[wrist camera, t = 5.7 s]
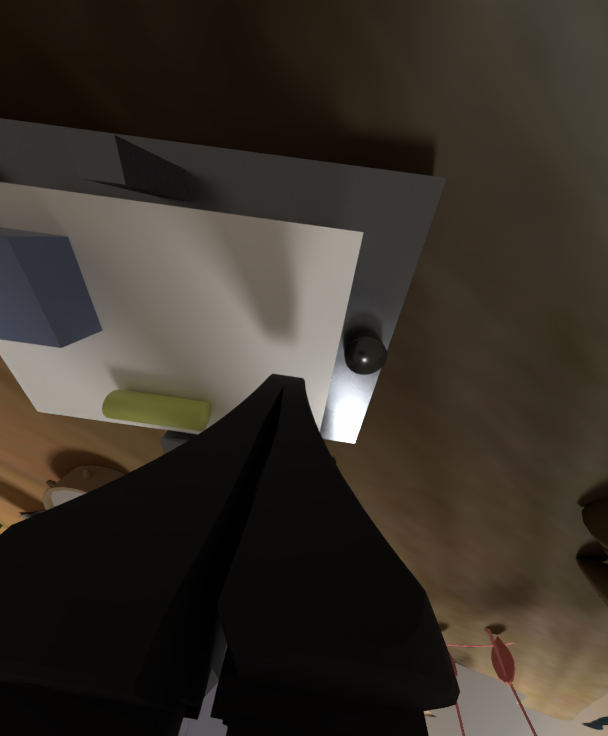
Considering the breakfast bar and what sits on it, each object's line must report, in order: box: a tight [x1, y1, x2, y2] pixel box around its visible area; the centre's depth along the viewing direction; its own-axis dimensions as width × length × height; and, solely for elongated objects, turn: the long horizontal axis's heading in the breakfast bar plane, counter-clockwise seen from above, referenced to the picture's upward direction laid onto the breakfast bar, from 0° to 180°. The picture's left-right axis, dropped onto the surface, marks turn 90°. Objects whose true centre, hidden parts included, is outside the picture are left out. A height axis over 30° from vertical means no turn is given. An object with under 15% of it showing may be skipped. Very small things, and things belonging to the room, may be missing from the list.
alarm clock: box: [42, 465, 125, 510], centre depth 28 cm, size 11×5×15 cm
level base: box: [0, 118, 447, 453], centre depth 13 cm, size 25×17×6 cm
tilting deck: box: [0, 182, 363, 434], centre depth 11 cm, size 18×12×3 cm, turn 83°
